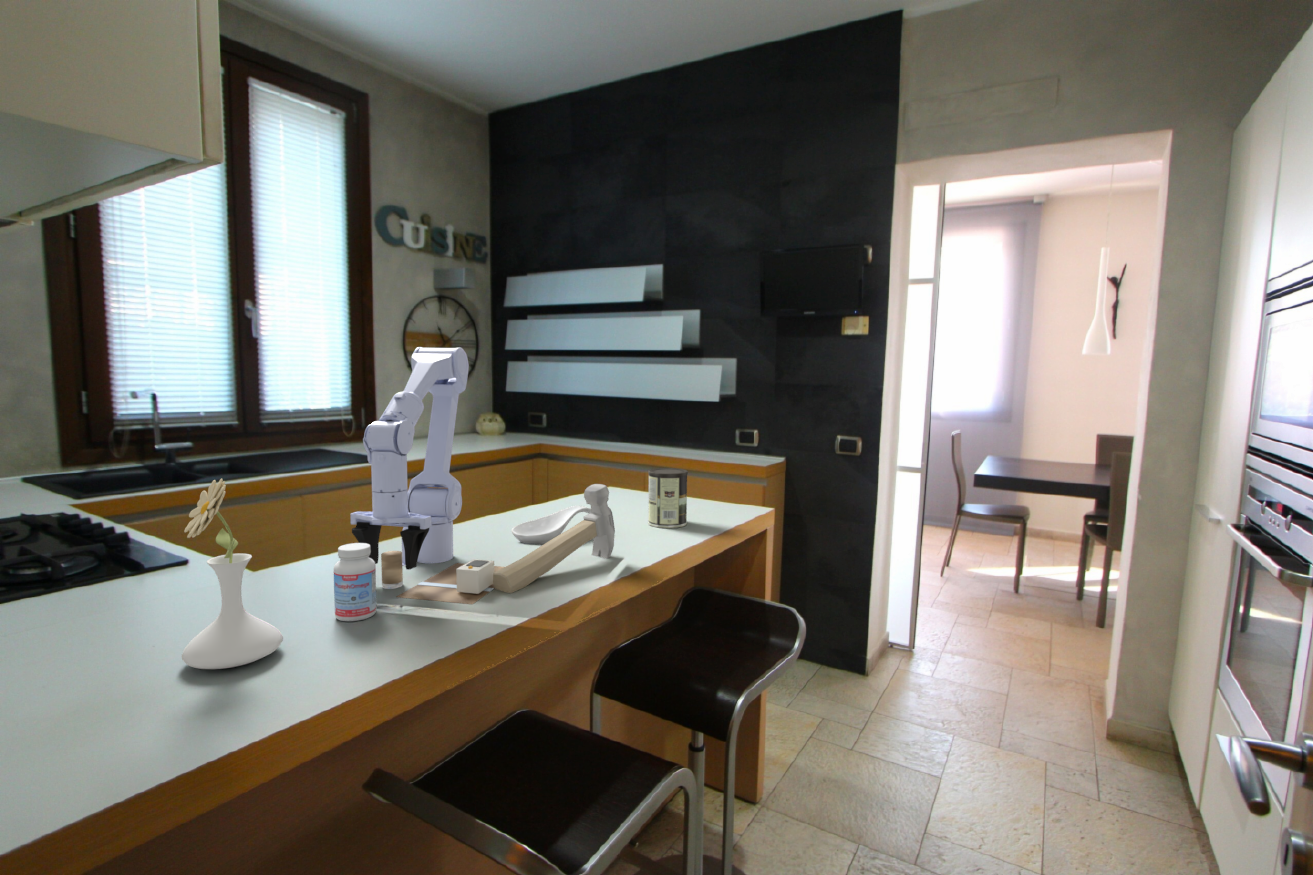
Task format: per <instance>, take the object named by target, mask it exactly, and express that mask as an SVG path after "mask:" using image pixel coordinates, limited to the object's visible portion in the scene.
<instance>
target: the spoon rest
mask: <svg viewBox="0 0 1313 875" xmlns="http://www.w3.org/2000/svg"><path fill="white" fill-rule="evenodd" d="M580 513H586V514H589V513H591V507H588V506H585V505H584V506H582V505H572V506H568V507H566V508H563V509H560V510H558V511H556V512H554V513H550V514H548V515H544V516H541V517H539V518H536V519H532V520H528V521H524V522H522V523H520V524H517V525H515V526H513V527H512V528H511V534H512V535H513V536H514V538H515V539H517V540H518V541H519V542H521V543H522V544H525V545H526V544H527V545H538V546H542V545H544V544H545V543H547V542H548V541H550V540H552V539H553V538H555V537H557V536H558V535H560V534H562V533H563V532H564V530H565V528H566V527H567V526H568V525H569V523H571V521H572V519H573V518H574V517H576V515H578V514H580Z"/></svg>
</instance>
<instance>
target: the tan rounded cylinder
mask: <svg viewBox="0 0 1313 875" xmlns="http://www.w3.org/2000/svg"><path fill="white" fill-rule="evenodd" d="M380 559H381V560H380V562H381V564H380V565H381V566H380V567H381V587H382V589H386V590H392V589H394V590H395V589H398V588H401V587H403V585H404V576H403V566H402V550H401V551H400V550H390V551H383V552H382V553H381V554H380Z"/></svg>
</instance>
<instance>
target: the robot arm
mask: <svg viewBox="0 0 1313 875" xmlns="http://www.w3.org/2000/svg"><path fill="white" fill-rule="evenodd" d="M410 359H411V362H410V363H411V370H412V371H411V374H410V376H409V379H407V380H408V381H407V383H406V385H405V387H404V389H403V391H399V392H396V393H395V394H394V395H393V396H392V398H391V399H390V401H389V403H388V405H387V406H386V408H385V410H384V411H383V413H382V414H381V416H380V417H379V419H378V420H375V421H373V422H372V423H371V424H368V425H367V426H366V428H365V430H364V435H363V438H362V442H363V447H364V450H365V451H366V454H367V461H368V464H369V465H370V466H371V467H370V469H371V499H372V500H371V502H372V504H371V506H372V511H361V510H359V511H354V512H351V513H350V525H355V527H353V528H351V533H352V535H353V536H354V537H355V539H356V541H357V543H367V544H369V545H370V549H371V553H370V555H369V558H371V559H373V560H374V562H375V565H377V564H378V563H379V555H380V554H379V548H380V547H379V544H380V543H379V542H380V535H381V529H382V526H384V527H385V526H389V527H401V528H402V527H403V528H402V530H400V531H399V533H400V536H401V552H402V567H405V569H406V570H412V569H414V568H416V567H417V564H418V563H420V564H422V563H423V564H438V563H439V564H440V563H444V562H448V561H451V560H453V558H454V520H455V519H457V518H458V516H459V515H460V513H461V510H462V506H463V497H462V484H461V483H460V481H459V480H458V479H456V477H455V476H453V475H452V474H451V473H450V468H451V460H452V452H453V444H454V435H455V427H456V419H457V411H458V405H459V403H458V402H459V397H460V395H461V394H462V393H463V392H465V391H466V388H467V385H468V384H467V383H468V376H469V367H470V366H469V360H468V354H467V353H466V351H465V350H464V348H463V347H460V346H459V347H423V346H418V347H416V348H415V349H414V351H413V353H412V354H411V358H410ZM428 393H430V394H431V396H432V404H431V405H432V406H431V411H430V420H429V428H428V435H427V440H426V442H427V443H426V448H425V449H426V450H425V451H426V452H425V457H424V464H423V470H422V471H421V472H420V473H419V474H417V475H416V476H415V477H413V478H411V480H410V481H409V487H408V454H409V453H410V451H411V450H412V449H413V445H414V437H415V432H416V429H415V426H416V425H417V423H418V421H419V420H420V417H421V416H422V414H423V412H424V409H425V406H424V402H423V400H424V398H425V397H426V395H427V394H428Z"/></svg>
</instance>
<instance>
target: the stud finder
mask: <svg viewBox="0 0 1313 875" xmlns="http://www.w3.org/2000/svg"><path fill="white" fill-rule="evenodd" d="M494 566H495V560H489V559H488V560H487V559H478V558H477V559H475V558H474V559H471V560H470V561H468V562H466V563H464V565H463V566H461V567H459V568H457V569H456V572H457V592H464V593H475V594H479V593H480V592H482V591H483V590H485V589H486V588H488V587H489V586H490V585H492V584H493V573H494Z"/></svg>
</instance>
